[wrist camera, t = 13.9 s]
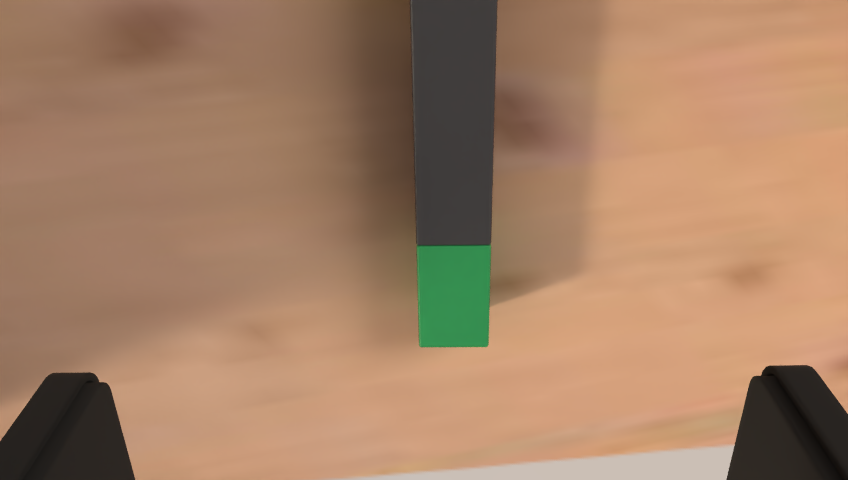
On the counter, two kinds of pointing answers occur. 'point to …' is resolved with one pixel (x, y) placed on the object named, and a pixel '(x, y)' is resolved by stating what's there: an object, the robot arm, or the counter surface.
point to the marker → (453, 166)
